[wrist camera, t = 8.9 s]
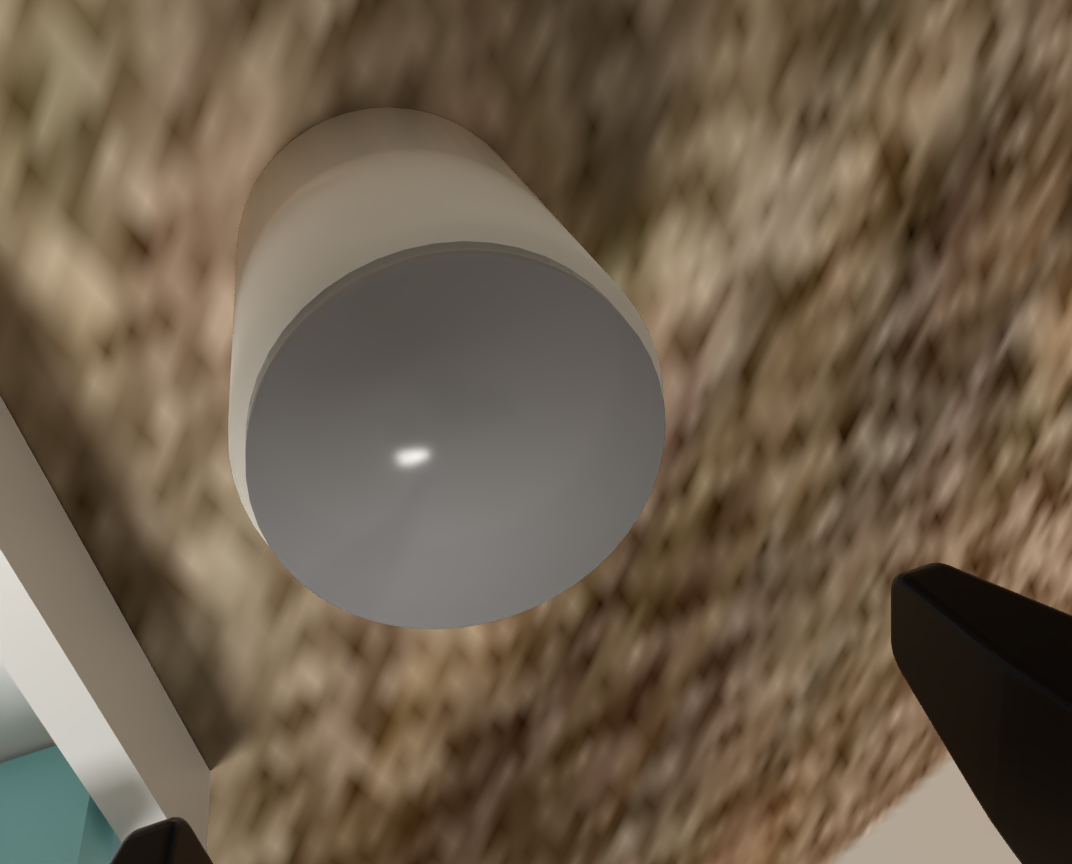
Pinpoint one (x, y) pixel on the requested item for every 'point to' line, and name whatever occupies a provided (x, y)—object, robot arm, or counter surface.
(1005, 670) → the robot arm
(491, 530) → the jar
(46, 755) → the pusher
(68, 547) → the lane
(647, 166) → the counter surface
